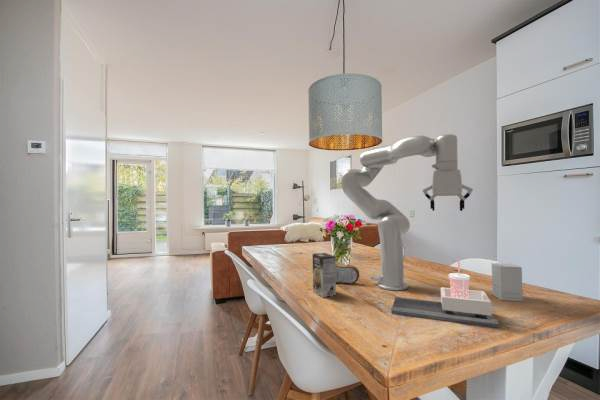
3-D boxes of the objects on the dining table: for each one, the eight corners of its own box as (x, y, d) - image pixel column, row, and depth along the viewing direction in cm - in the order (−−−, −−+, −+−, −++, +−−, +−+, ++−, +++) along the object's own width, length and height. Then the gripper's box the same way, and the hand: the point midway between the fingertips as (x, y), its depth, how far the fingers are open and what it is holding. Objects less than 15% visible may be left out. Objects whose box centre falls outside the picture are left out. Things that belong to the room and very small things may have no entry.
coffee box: (312, 291, 120) (311, 253, 120) (325, 289, 123) (325, 252, 123) (322, 298, 112) (321, 257, 112) (336, 295, 114) (335, 255, 115)
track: (391, 313, 95) (391, 307, 95) (395, 301, 106) (394, 296, 106) (498, 327, 83) (498, 321, 83) (489, 313, 93) (489, 307, 94)
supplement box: (523, 301, 104) (522, 267, 104) (501, 300, 105) (500, 266, 105) (512, 295, 111) (511, 263, 111) (491, 294, 112) (490, 262, 113)
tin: (359, 283, 131) (359, 265, 132) (358, 285, 128) (358, 266, 129) (328, 281, 136) (327, 263, 136) (326, 282, 133) (326, 264, 134)
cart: (442, 316, 89) (442, 297, 89) (441, 304, 99) (440, 287, 99) (491, 322, 84) (491, 302, 84) (484, 309, 94) (484, 291, 94)
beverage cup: (465, 299, 95) (464, 257, 95) (474, 306, 89) (473, 261, 89) (446, 299, 95) (445, 257, 96) (454, 305, 89) (452, 261, 89)
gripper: (422, 167, 111) (422, 210, 111) (473, 164, 103) (473, 211, 103) (422, 169, 118) (423, 210, 117) (471, 166, 110) (471, 210, 110)
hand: (447, 210), depth 110 cm, fingers open, 9 cm apart
